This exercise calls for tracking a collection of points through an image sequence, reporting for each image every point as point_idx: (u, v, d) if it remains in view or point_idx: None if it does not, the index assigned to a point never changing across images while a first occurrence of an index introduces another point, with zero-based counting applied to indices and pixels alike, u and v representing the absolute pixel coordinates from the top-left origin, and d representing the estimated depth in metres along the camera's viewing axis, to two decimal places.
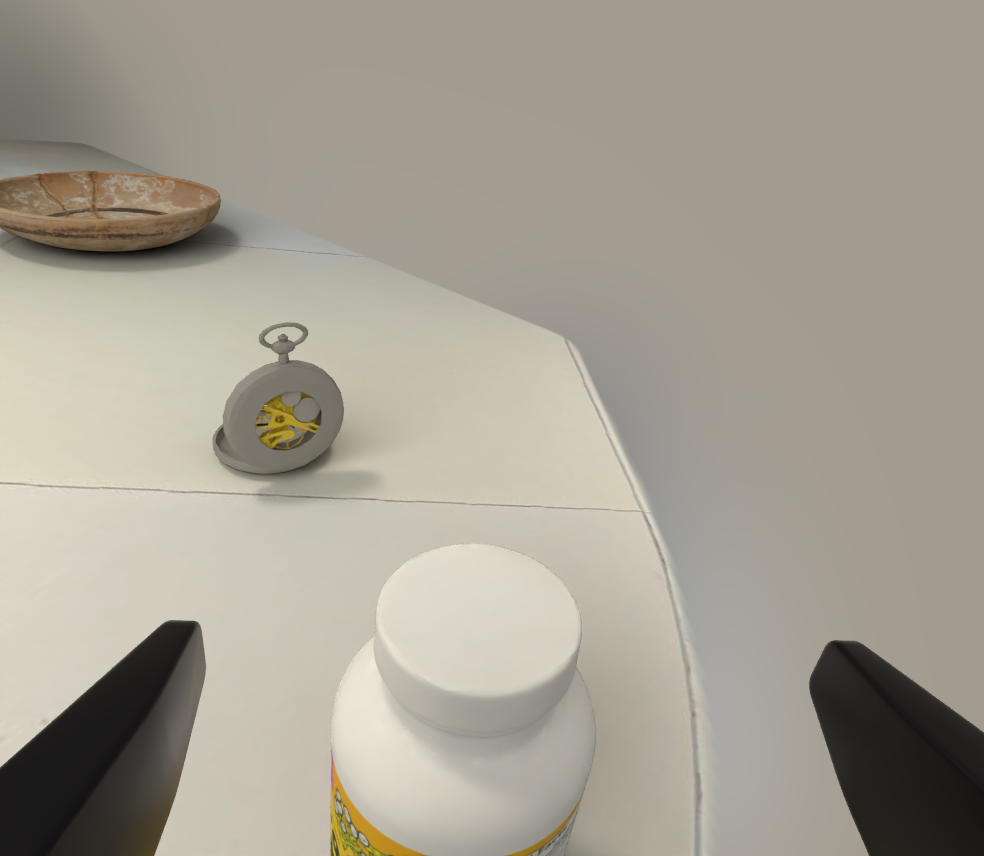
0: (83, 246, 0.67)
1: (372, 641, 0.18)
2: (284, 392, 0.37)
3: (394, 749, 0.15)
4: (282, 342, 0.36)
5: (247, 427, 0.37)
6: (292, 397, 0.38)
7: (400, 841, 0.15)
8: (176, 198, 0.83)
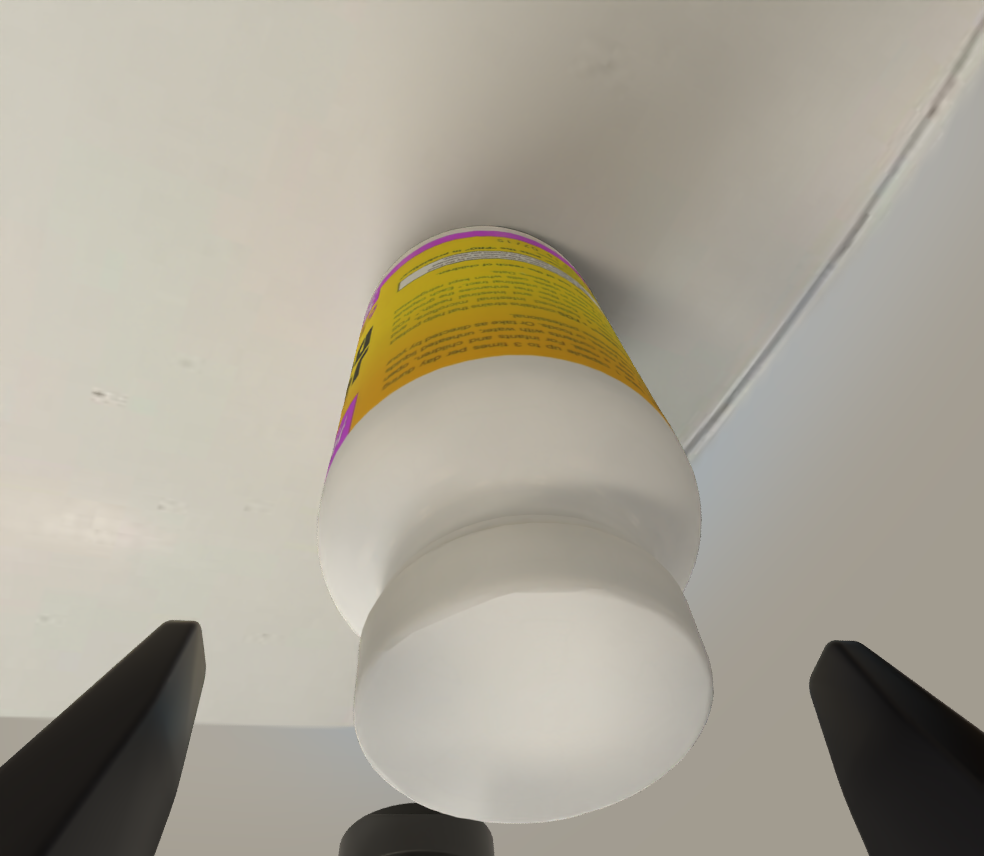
0: None
1: (364, 492, 0.10)
2: None
3: None
4: None
5: None
6: None
7: None
8: None
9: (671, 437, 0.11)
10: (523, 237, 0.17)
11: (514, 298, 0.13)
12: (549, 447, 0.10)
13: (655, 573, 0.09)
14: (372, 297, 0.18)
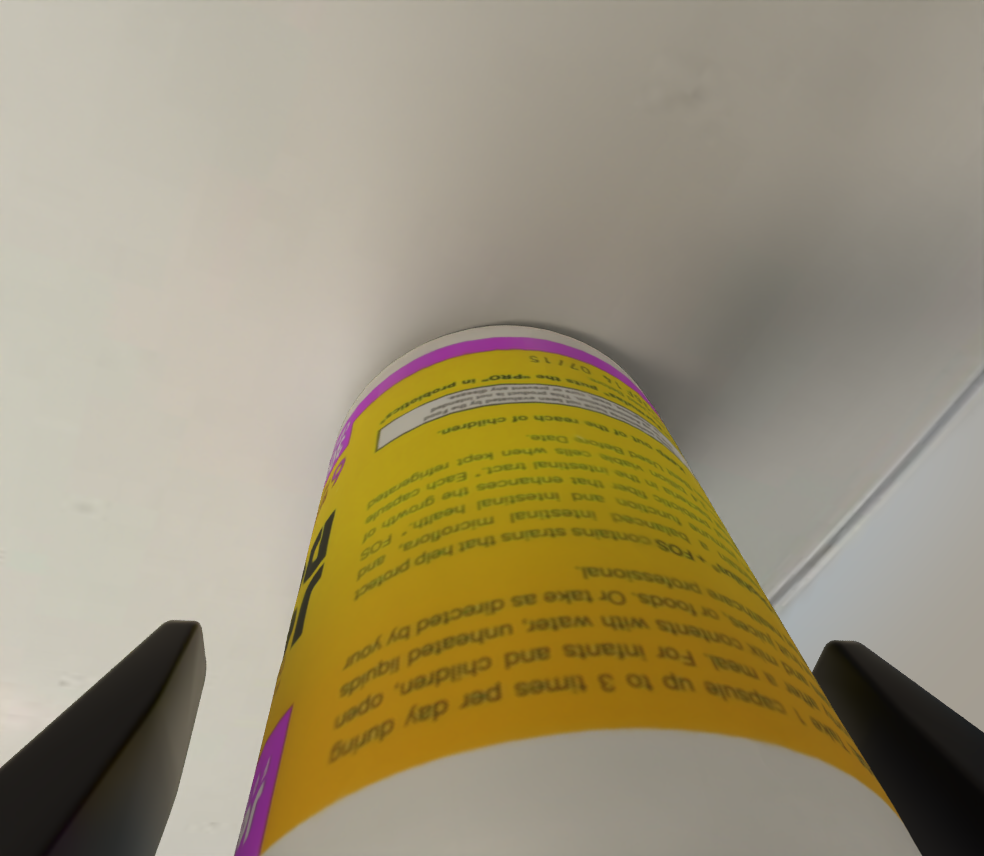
0: None
1: None
2: None
3: None
4: None
5: None
6: None
7: None
8: None
9: None
10: (565, 346, 0.12)
11: (576, 513, 0.07)
12: None
13: None
14: (342, 429, 0.12)
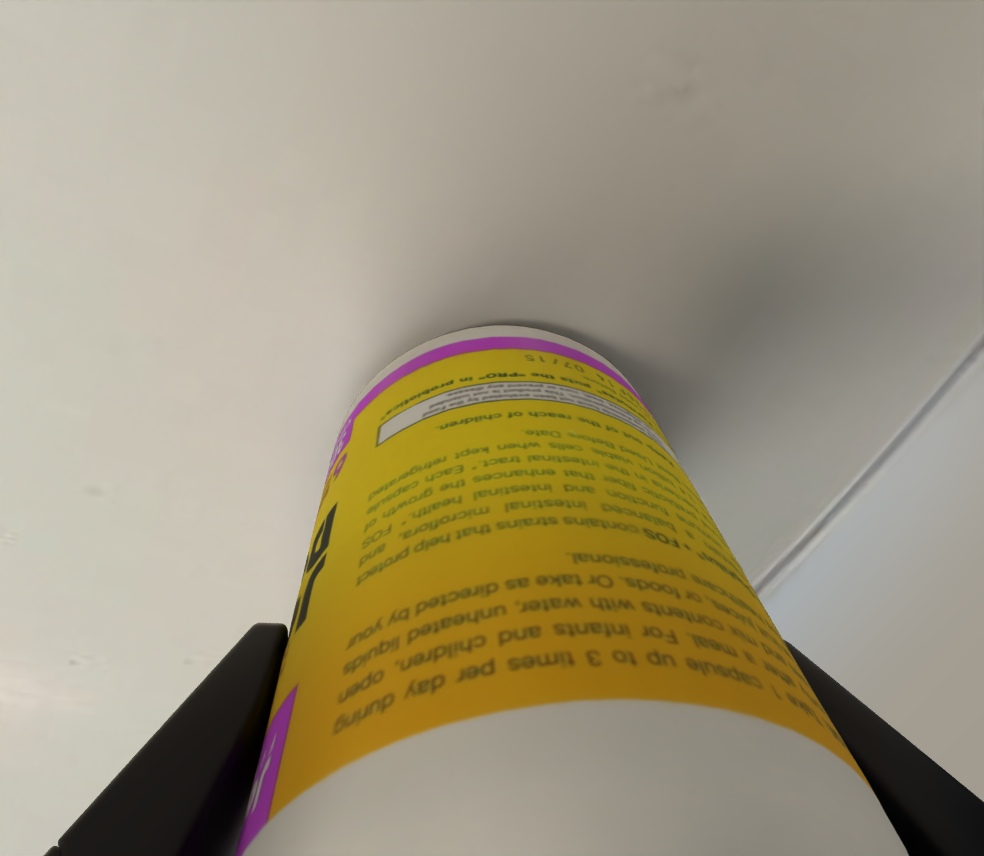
0: None
1: None
2: None
3: None
4: None
5: None
6: None
7: None
8: None
9: (897, 851, 0.06)
10: (560, 345, 0.12)
11: (566, 504, 0.08)
12: None
13: None
14: (343, 426, 0.13)
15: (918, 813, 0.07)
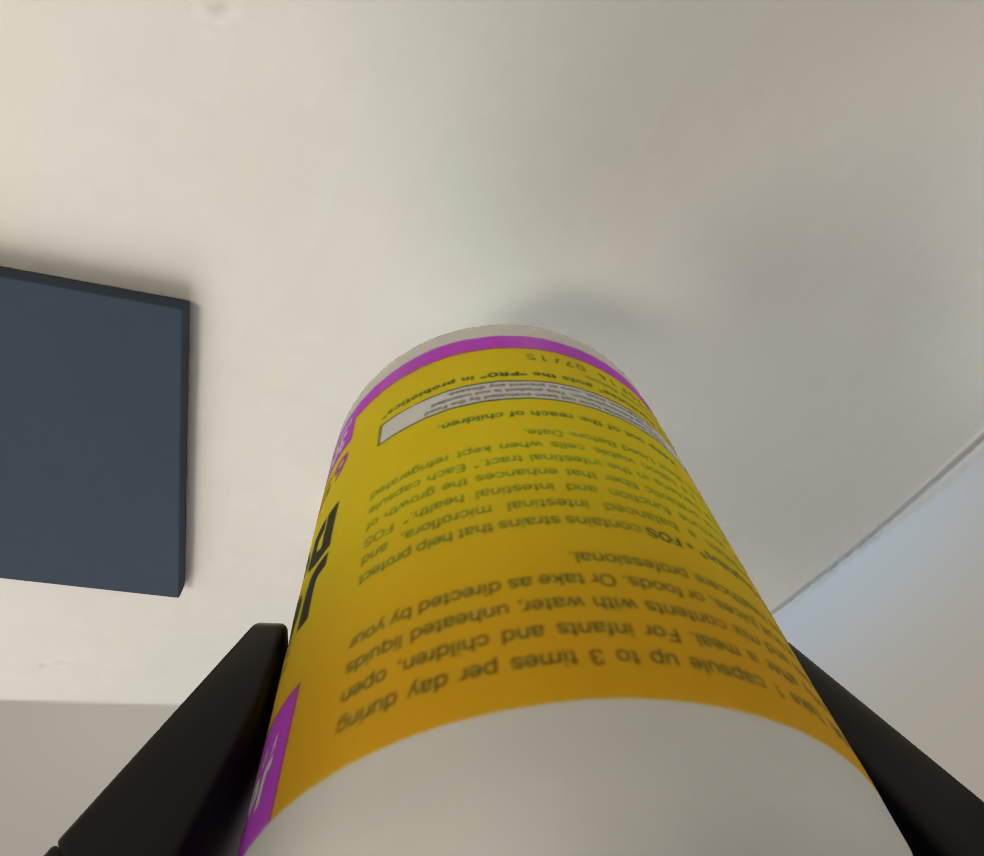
0: None
1: None
2: None
3: None
4: None
5: None
6: None
7: None
8: None
9: (901, 850, 0.06)
10: (561, 345, 0.12)
11: (569, 502, 0.08)
12: None
13: None
14: (345, 425, 0.13)
15: (918, 813, 0.07)
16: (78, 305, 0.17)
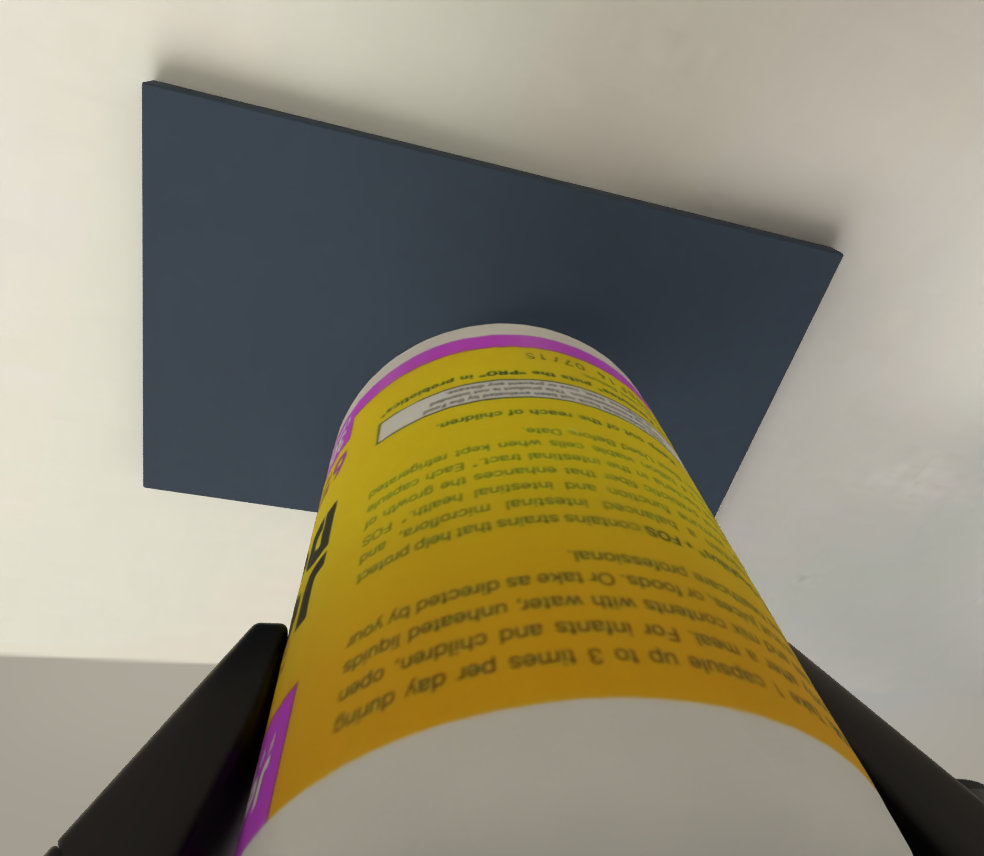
0: None
1: None
2: None
3: None
4: None
5: None
6: None
7: None
8: None
9: (901, 850, 0.05)
10: (560, 343, 0.12)
11: (568, 501, 0.08)
12: None
13: None
14: (344, 424, 0.12)
15: (918, 813, 0.07)
16: (744, 249, 0.16)
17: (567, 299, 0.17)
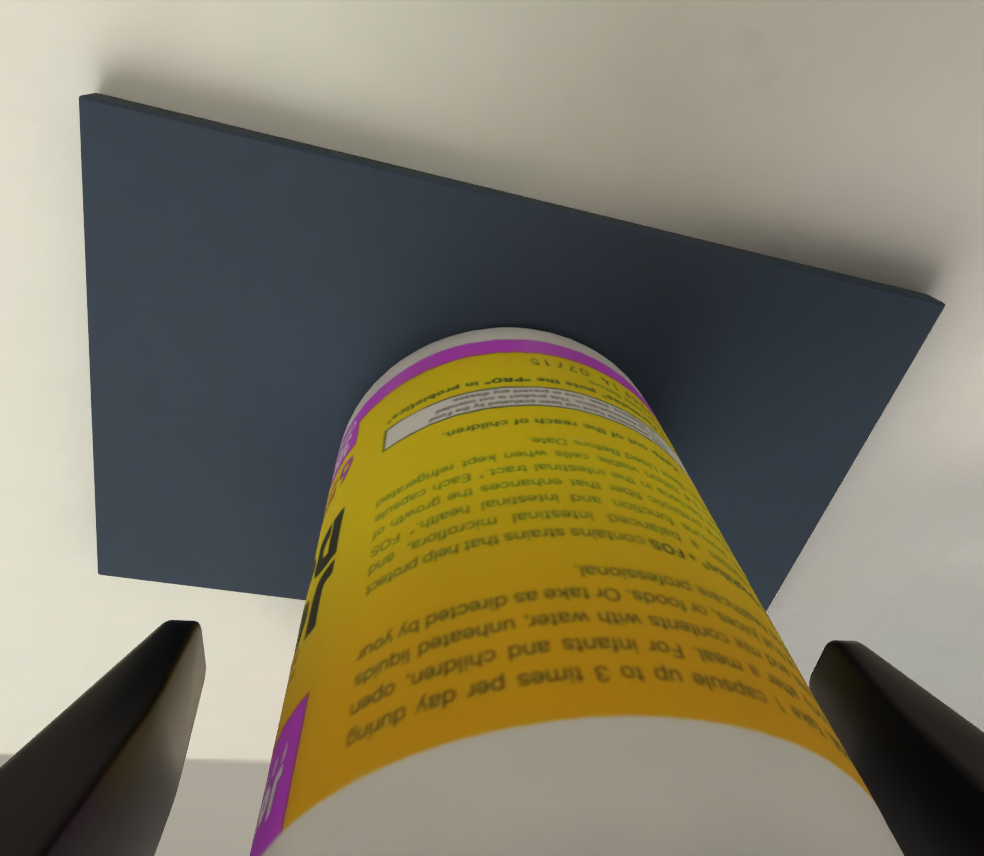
0: None
1: None
2: None
3: None
4: None
5: None
6: None
7: None
8: None
9: None
10: (564, 348, 0.12)
11: (574, 514, 0.08)
12: None
13: None
14: (349, 428, 0.13)
15: None
16: (827, 298, 0.13)
17: (609, 358, 0.14)
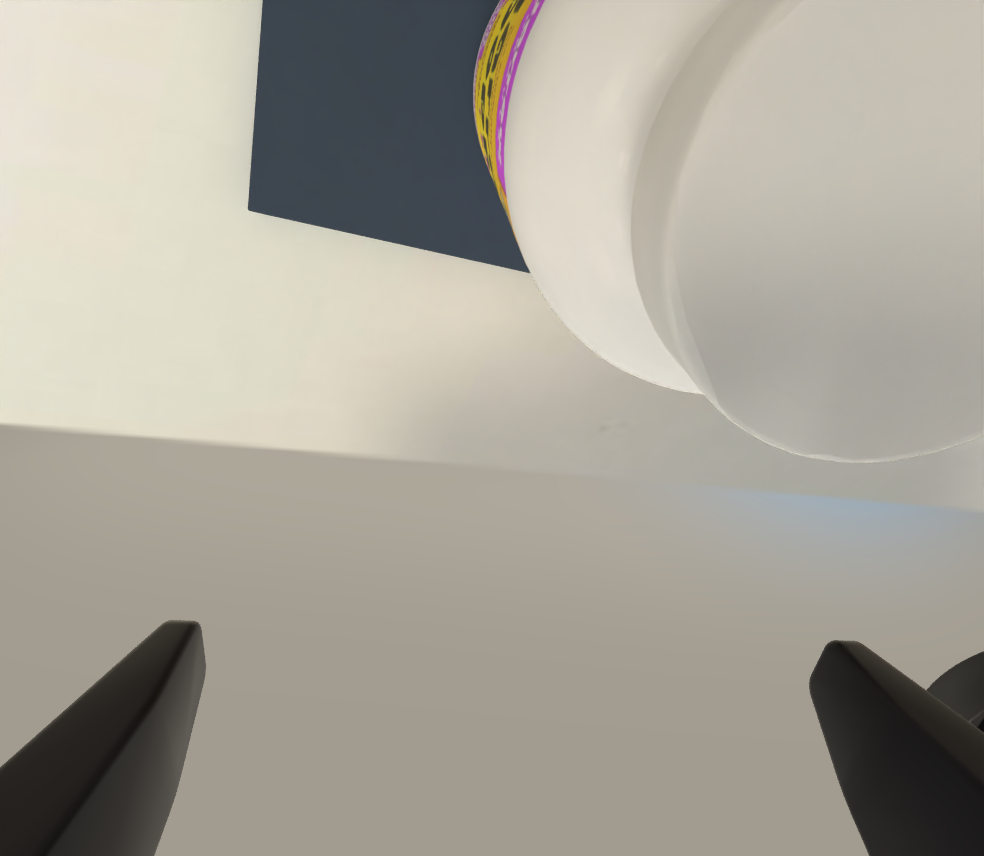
0: None
1: None
2: None
3: (622, 307, 0.08)
4: None
5: None
6: None
7: None
8: None
9: None
10: None
11: None
12: None
13: None
14: (493, 13, 0.15)
15: None
16: None
17: None
